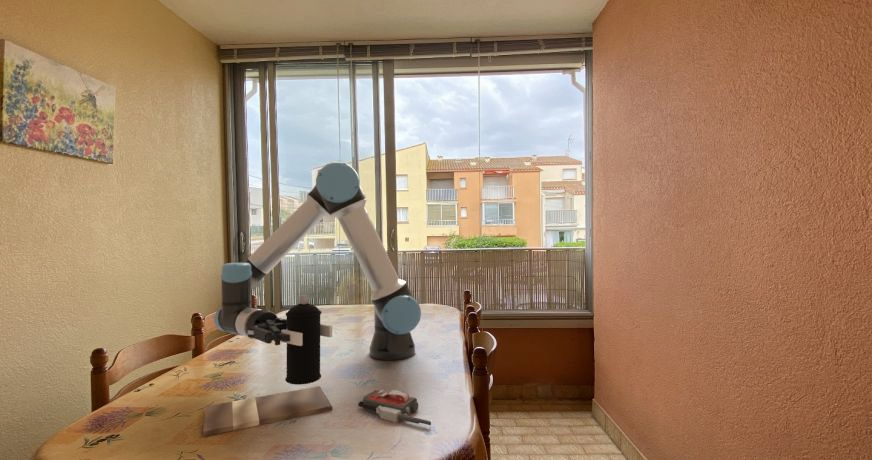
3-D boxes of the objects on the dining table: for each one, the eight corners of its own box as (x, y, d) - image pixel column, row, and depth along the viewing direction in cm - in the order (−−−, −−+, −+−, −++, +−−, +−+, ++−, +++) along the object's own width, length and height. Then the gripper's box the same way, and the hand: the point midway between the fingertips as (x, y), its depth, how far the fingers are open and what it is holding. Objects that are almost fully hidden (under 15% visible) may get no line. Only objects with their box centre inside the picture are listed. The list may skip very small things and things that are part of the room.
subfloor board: (319, 389, 109) (319, 386, 109) (332, 410, 97) (332, 405, 97) (205, 410, 97) (205, 406, 97) (203, 436, 85) (202, 431, 85)
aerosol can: (328, 375, 103) (328, 293, 103) (306, 386, 95) (307, 298, 95) (300, 370, 106) (300, 291, 106) (277, 382, 98) (277, 296, 98)
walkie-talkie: (351, 413, 95) (428, 432, 86) (351, 394, 95) (428, 411, 86) (374, 399, 103) (447, 415, 94) (374, 382, 103) (447, 395, 94)
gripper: (291, 330, 119) (349, 341, 107) (219, 347, 102) (277, 363, 89) (291, 303, 119) (348, 311, 107) (218, 316, 102) (277, 328, 89)
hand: (316, 335), depth 98 cm, fingers closed on aerosol can, 8 cm apart
